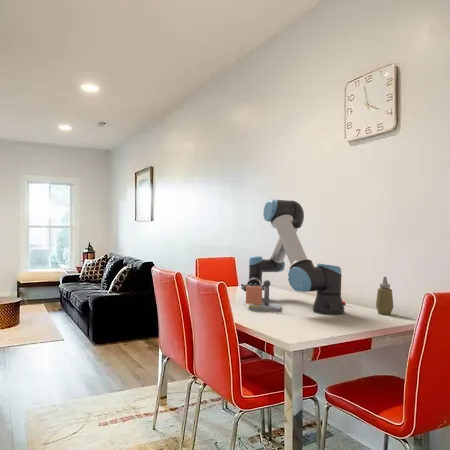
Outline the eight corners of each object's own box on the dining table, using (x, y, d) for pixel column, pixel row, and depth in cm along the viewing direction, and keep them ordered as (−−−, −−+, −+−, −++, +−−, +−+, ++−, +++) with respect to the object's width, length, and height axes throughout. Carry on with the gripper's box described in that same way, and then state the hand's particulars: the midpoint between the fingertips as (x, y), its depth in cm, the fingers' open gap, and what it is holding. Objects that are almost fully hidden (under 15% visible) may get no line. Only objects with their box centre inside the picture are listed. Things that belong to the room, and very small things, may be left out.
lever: (269, 304, 218) (269, 279, 218) (270, 305, 215) (271, 280, 215) (245, 304, 217) (245, 279, 217) (246, 305, 213) (246, 280, 214)
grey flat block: (280, 306, 222) (280, 303, 222) (280, 311, 208) (280, 308, 208) (247, 305, 225) (247, 301, 225) (245, 310, 211) (245, 306, 211)
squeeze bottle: (380, 311, 214) (380, 275, 215) (396, 313, 209) (396, 276, 209) (372, 313, 209) (373, 276, 209) (388, 316, 203) (389, 278, 203)
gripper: (265, 292, 239) (263, 299, 216) (242, 291, 241) (237, 298, 218) (265, 279, 239) (263, 284, 216) (242, 278, 241) (237, 283, 218)
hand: (250, 291), depth 217 cm, fingers closed
